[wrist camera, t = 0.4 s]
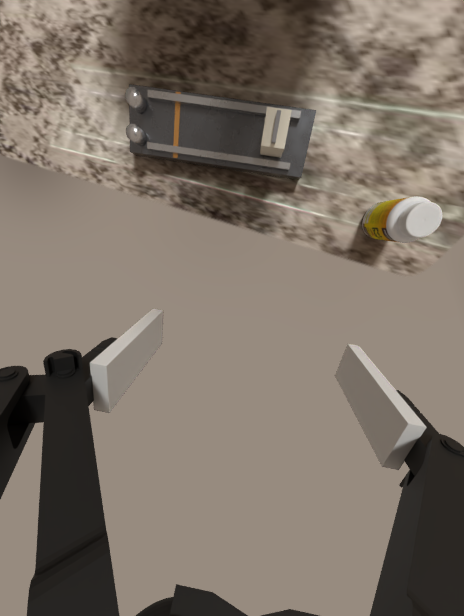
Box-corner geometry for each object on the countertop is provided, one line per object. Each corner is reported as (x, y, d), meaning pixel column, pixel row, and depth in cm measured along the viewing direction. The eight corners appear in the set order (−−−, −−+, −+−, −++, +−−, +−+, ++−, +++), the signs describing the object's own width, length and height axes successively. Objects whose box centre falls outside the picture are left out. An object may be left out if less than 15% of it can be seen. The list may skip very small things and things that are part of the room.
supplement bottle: (353, 229, 37) (388, 231, 27) (375, 195, 35) (421, 184, 25) (382, 245, 37) (426, 252, 28) (406, 212, 35) (462, 208, 26)
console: (136, 92, 33) (121, 75, 29) (312, 116, 32) (320, 102, 29) (136, 155, 36) (122, 147, 32) (298, 179, 35) (303, 174, 31)
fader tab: (265, 120, 31) (267, 104, 27) (287, 123, 31) (292, 107, 27) (260, 154, 32) (261, 144, 28) (280, 157, 32) (284, 147, 28)
